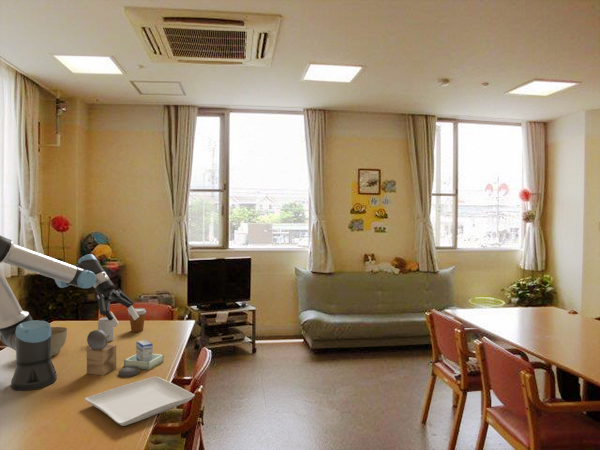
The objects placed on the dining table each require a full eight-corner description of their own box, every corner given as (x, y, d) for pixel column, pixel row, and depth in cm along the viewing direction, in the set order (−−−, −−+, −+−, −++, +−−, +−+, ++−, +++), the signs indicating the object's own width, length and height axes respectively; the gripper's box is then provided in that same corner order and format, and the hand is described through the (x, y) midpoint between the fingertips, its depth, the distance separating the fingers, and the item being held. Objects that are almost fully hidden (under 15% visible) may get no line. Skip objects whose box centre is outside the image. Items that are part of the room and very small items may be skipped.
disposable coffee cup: (127, 329, 239) (127, 308, 239) (145, 327, 243) (145, 307, 243) (128, 333, 230) (128, 312, 230) (146, 331, 234) (146, 310, 234)
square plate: (196, 404, 145) (196, 393, 145) (119, 435, 125) (119, 422, 125) (156, 383, 163) (156, 373, 163) (83, 407, 143) (83, 396, 143)
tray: (148, 369, 177) (148, 362, 177) (124, 366, 180) (124, 359, 180) (163, 361, 187) (163, 354, 187) (139, 358, 191) (139, 352, 191)
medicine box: (135, 360, 185) (135, 341, 185) (145, 358, 188) (145, 339, 188) (142, 365, 179) (142, 345, 179) (153, 362, 182) (152, 343, 182)
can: (107, 343, 213) (107, 320, 213) (94, 342, 214) (94, 319, 214) (116, 339, 220) (116, 316, 220) (104, 338, 222) (104, 316, 222)
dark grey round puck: (130, 378, 168) (130, 374, 168) (114, 375, 170) (114, 372, 170) (143, 370, 176) (143, 367, 176) (127, 368, 178) (127, 365, 178)
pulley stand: (102, 375, 171) (102, 331, 170) (86, 373, 173) (86, 330, 172) (116, 368, 178) (116, 326, 178) (101, 366, 181) (100, 325, 180)
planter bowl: (30, 351, 200) (29, 329, 200) (68, 346, 207) (68, 325, 207) (25, 362, 186) (25, 338, 185) (67, 356, 193) (66, 333, 193)
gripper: (87, 283, 178) (113, 323, 175) (126, 275, 202) (149, 311, 199) (76, 293, 180) (101, 333, 176) (116, 285, 204) (139, 320, 200)
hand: (127, 321), depth 188 cm, fingers open, 13 cm apart
